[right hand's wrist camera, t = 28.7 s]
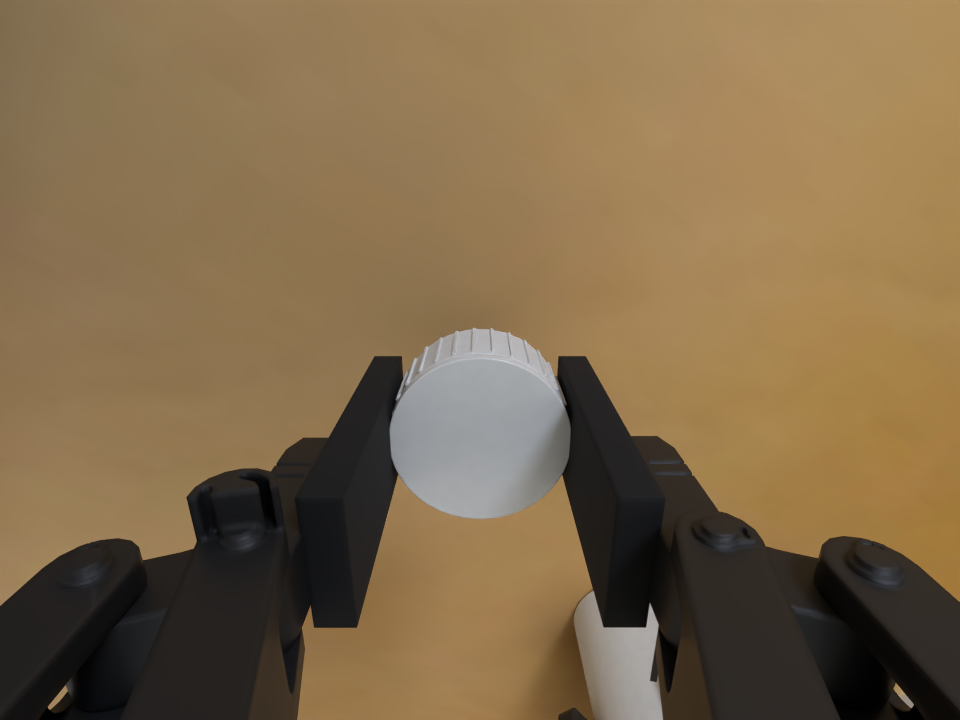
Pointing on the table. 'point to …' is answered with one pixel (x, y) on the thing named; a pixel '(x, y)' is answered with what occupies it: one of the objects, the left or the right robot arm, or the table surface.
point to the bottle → (618, 665)
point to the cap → (480, 425)
